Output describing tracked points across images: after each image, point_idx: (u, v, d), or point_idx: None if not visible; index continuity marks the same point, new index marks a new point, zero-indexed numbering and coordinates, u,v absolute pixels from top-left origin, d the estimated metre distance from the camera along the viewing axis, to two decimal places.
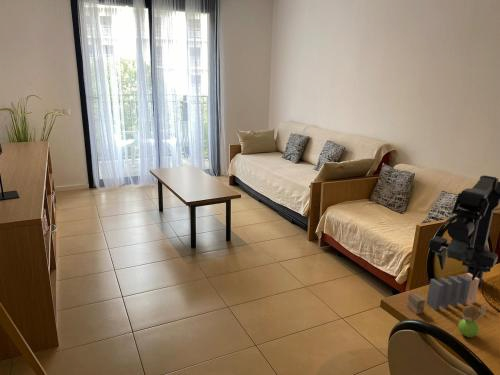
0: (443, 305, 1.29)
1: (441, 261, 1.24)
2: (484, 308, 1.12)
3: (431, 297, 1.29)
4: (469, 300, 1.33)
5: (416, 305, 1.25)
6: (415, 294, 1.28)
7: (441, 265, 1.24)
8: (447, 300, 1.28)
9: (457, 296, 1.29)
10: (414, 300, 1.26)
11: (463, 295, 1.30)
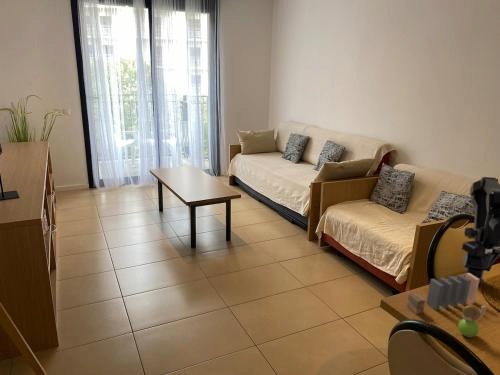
0: (443, 305, 1.29)
1: None
2: (484, 308, 1.12)
3: (431, 297, 1.29)
4: (469, 300, 1.33)
5: (416, 305, 1.25)
6: (415, 294, 1.28)
7: None
8: (447, 300, 1.28)
9: (457, 296, 1.29)
10: (414, 300, 1.26)
11: (463, 295, 1.30)
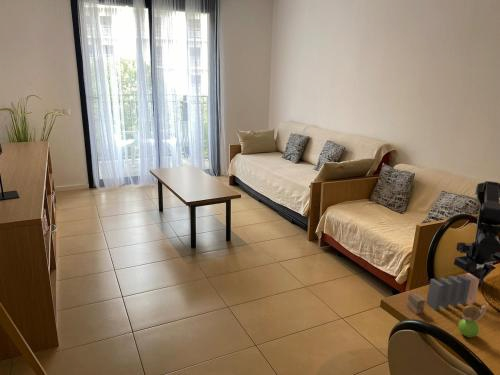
0: (443, 305, 1.29)
1: None
2: (484, 308, 1.12)
3: (430, 297, 1.29)
4: (469, 300, 1.33)
5: (416, 305, 1.25)
6: (415, 294, 1.28)
7: None
8: (447, 300, 1.28)
9: (457, 296, 1.29)
10: (414, 300, 1.26)
11: (463, 295, 1.30)
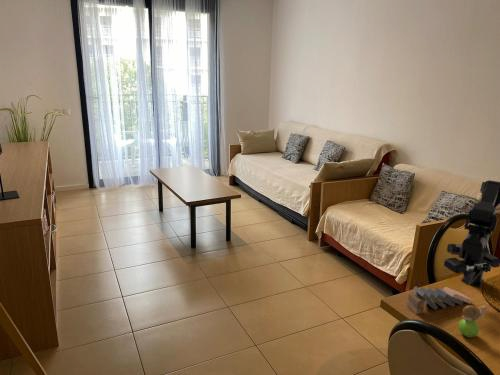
0: (441, 306, 1.29)
1: None
2: (484, 308, 1.12)
3: (425, 301, 1.29)
4: (466, 301, 1.32)
5: (416, 305, 1.25)
6: (415, 294, 1.28)
7: None
8: (439, 303, 1.27)
9: (447, 301, 1.28)
10: (414, 300, 1.26)
11: (454, 301, 1.30)
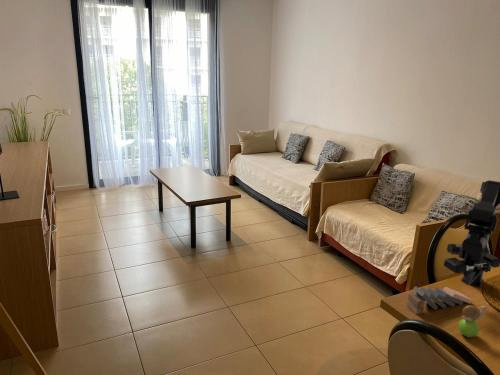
0: (441, 306, 1.29)
1: None
2: (484, 308, 1.12)
3: (425, 301, 1.29)
4: (466, 301, 1.32)
5: (416, 305, 1.25)
6: (415, 294, 1.28)
7: None
8: (439, 303, 1.27)
9: (447, 301, 1.28)
10: (414, 300, 1.26)
11: (454, 301, 1.30)
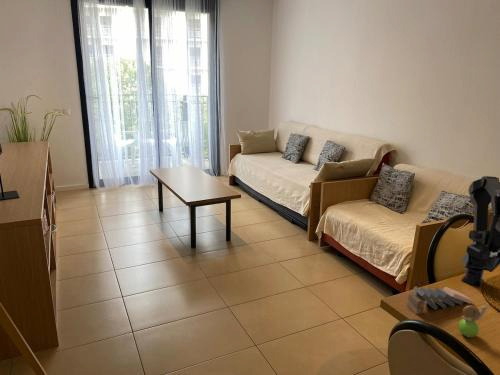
0: (441, 306, 1.29)
1: None
2: (484, 308, 1.12)
3: (425, 301, 1.29)
4: (466, 301, 1.32)
5: (416, 305, 1.25)
6: (415, 294, 1.28)
7: None
8: (439, 303, 1.27)
9: (447, 301, 1.28)
10: (414, 300, 1.26)
11: (454, 301, 1.30)
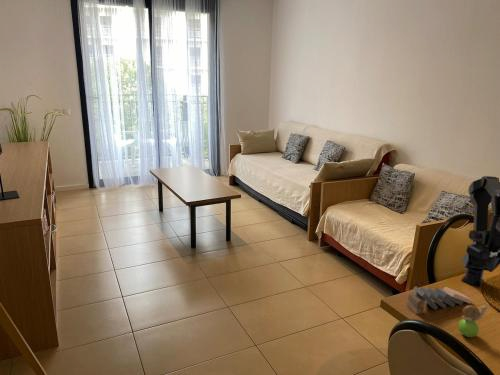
0: (441, 306, 1.29)
1: None
2: (484, 308, 1.12)
3: (425, 301, 1.29)
4: (466, 301, 1.32)
5: (416, 305, 1.25)
6: (415, 294, 1.28)
7: None
8: (439, 303, 1.27)
9: (447, 301, 1.28)
10: (414, 300, 1.26)
11: (453, 301, 1.30)
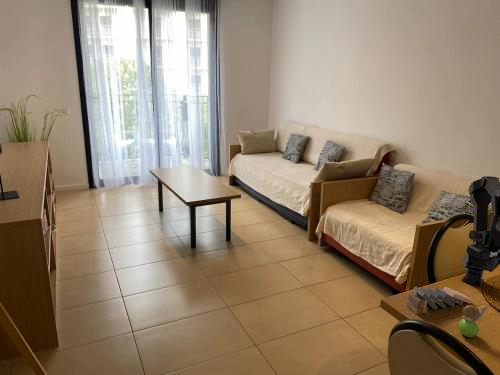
0: (441, 306, 1.29)
1: None
2: (484, 308, 1.12)
3: (425, 301, 1.29)
4: (466, 301, 1.32)
5: (416, 305, 1.25)
6: (415, 294, 1.28)
7: None
8: (439, 303, 1.27)
9: (447, 301, 1.28)
10: (414, 300, 1.26)
11: (453, 301, 1.30)
